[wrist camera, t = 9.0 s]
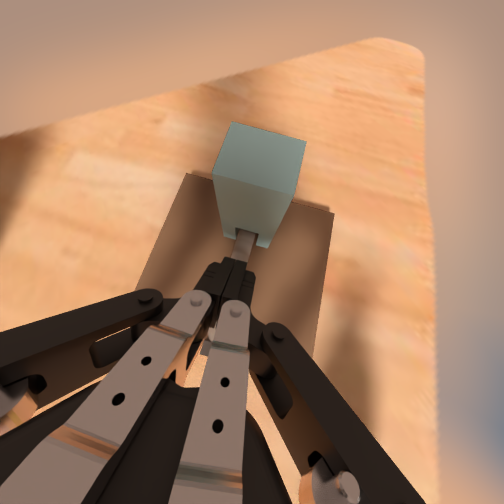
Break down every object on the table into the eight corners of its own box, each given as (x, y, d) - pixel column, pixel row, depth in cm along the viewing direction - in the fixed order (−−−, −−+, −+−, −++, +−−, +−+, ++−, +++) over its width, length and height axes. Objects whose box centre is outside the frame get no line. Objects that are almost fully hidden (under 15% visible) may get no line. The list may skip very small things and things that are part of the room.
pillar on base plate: (129, 320, 19) (84, 326, 13) (189, 181, 24) (174, 142, 18) (304, 369, 19) (332, 395, 13) (328, 219, 24) (356, 191, 18)
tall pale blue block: (223, 236, 20) (211, 173, 11) (234, 204, 21) (231, 121, 12) (267, 248, 20) (294, 195, 11) (275, 215, 21) (306, 141, 12)
